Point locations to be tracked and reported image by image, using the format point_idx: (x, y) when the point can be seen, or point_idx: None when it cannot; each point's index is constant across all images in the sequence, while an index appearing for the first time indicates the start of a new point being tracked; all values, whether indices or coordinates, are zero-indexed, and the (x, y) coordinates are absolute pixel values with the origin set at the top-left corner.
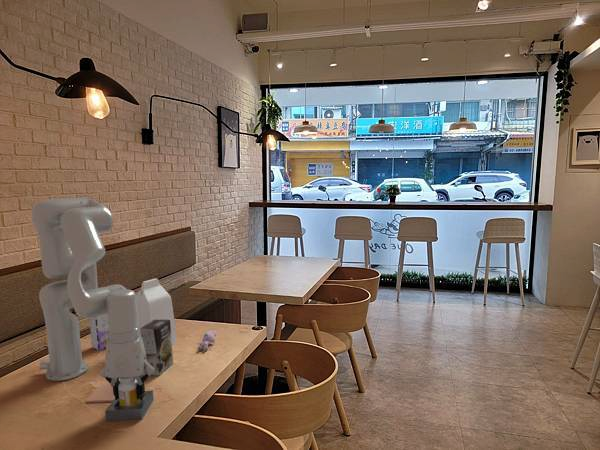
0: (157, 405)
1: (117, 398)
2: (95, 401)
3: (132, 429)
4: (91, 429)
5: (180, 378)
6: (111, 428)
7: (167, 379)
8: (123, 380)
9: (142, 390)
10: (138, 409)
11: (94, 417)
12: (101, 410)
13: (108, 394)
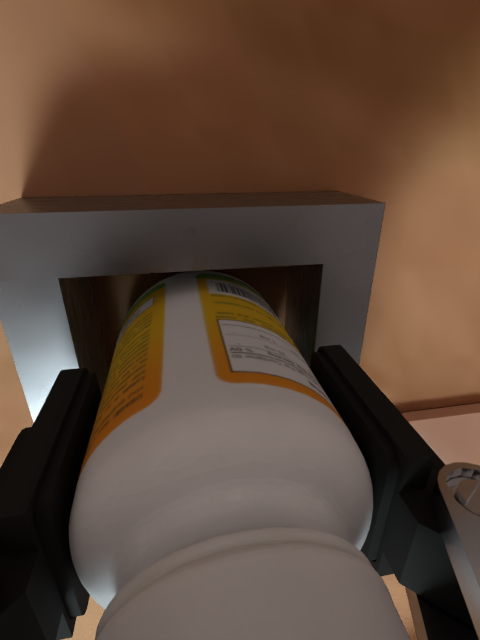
0: (10, 395)
1: (319, 355)
2: (464, 408)
3: (16, 9)
4: (422, 63)
5: None
6: (251, 60)
7: None
8: (304, 613)
9: (4, 464)
10: (4, 211)
11: (434, 245)
12: (407, 327)
13: None
